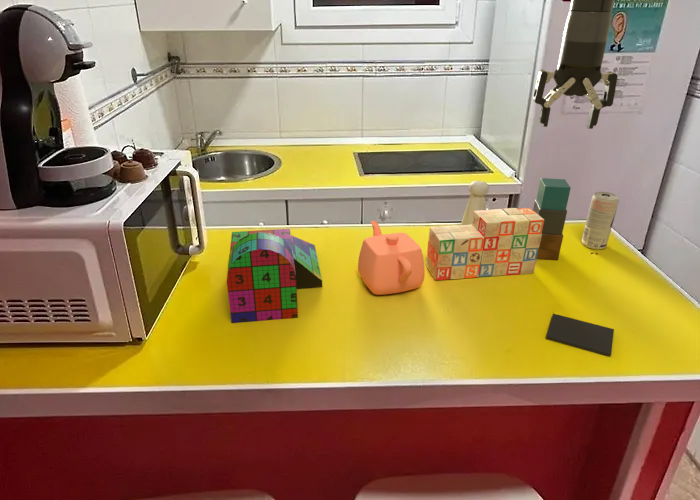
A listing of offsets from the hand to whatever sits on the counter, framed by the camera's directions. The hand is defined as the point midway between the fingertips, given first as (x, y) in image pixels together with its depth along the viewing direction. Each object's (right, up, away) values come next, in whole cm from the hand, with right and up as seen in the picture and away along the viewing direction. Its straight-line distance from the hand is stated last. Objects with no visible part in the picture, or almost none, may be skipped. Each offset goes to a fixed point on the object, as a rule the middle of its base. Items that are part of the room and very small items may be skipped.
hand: (566, 126), depth 102 cm
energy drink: (+13, -23, +17) cm, 32 cm away
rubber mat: (-3, -39, -13) cm, 41 cm away
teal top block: (0, -15, +8) cm, 17 cm away
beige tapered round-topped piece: (-13, -21, +21) cm, 33 cm away
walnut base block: (0, -25, +13) cm, 28 cm away
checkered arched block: (-57, -31, +1) cm, 65 cm away
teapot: (-35, -31, +2) cm, 46 cm away
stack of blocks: (-16, -29, +6) cm, 33 cm away
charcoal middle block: (0, -20, +10) cm, 22 cm away
